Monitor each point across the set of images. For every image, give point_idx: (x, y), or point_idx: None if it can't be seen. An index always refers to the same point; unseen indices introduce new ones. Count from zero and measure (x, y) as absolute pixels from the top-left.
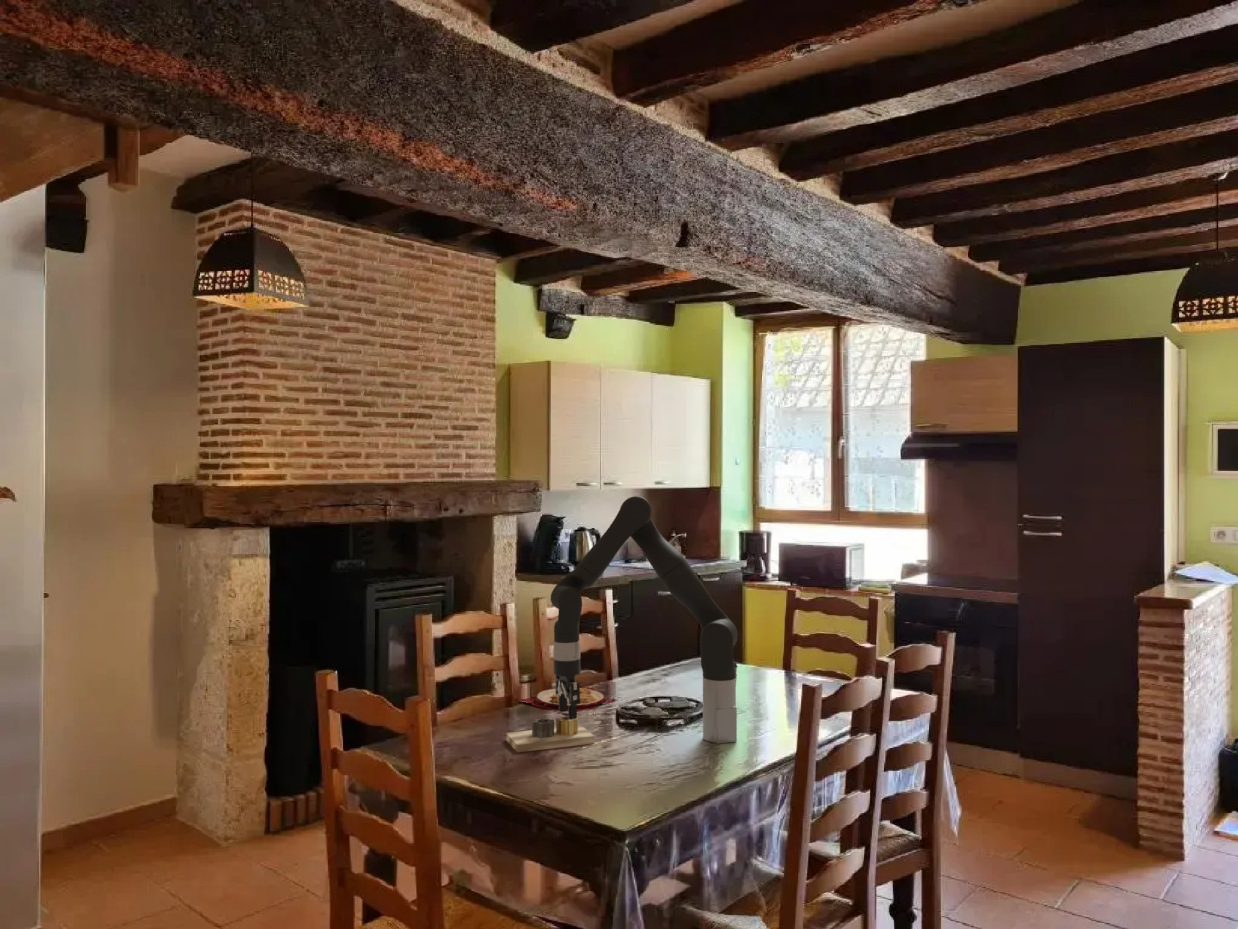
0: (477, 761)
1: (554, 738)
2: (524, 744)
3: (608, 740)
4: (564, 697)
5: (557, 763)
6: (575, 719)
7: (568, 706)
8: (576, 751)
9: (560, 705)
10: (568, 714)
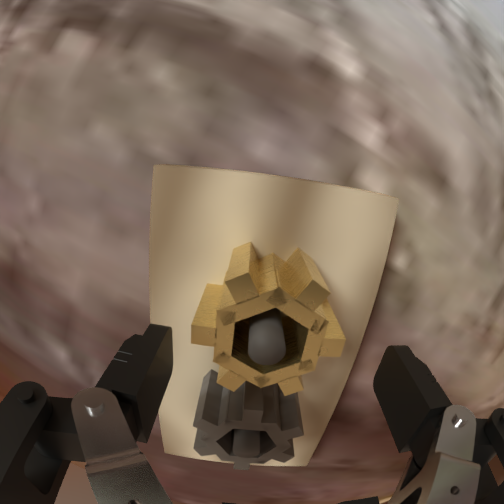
0: (307, 495)
1: (318, 376)
2: (312, 453)
3: (373, 110)
4: (129, 418)
5: (451, 386)
6: (319, 303)
7: (398, 446)
8: (419, 309)
9: (161, 398)
10: (380, 404)
